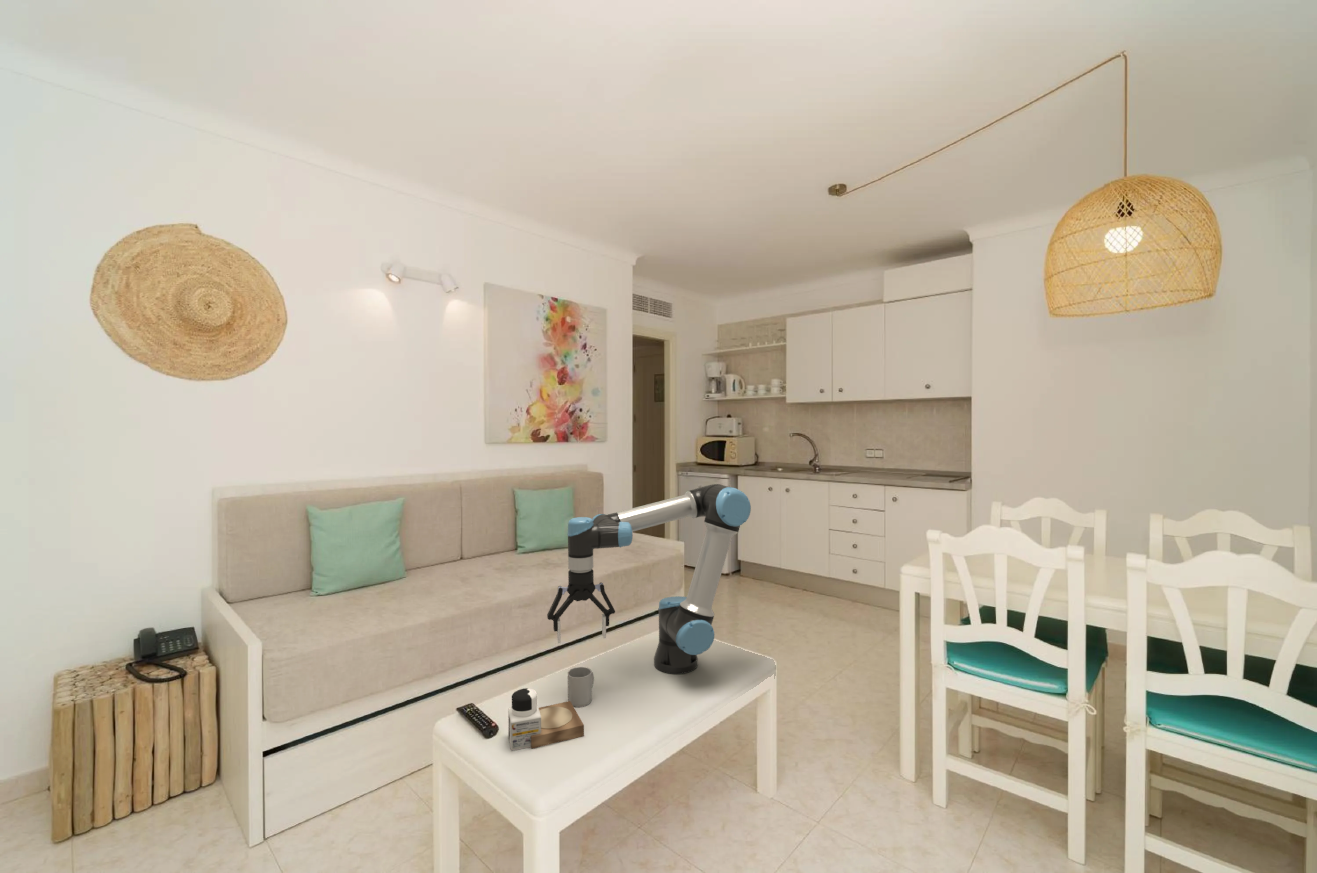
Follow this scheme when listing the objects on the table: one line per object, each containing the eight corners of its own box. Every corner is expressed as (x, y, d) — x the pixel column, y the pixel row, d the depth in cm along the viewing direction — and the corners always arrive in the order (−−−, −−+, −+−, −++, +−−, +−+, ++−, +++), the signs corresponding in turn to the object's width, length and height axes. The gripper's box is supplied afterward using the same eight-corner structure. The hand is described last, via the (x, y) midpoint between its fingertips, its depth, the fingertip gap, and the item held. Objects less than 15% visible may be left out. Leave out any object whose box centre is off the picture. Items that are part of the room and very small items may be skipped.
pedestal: (570, 711, 162) (570, 699, 162) (584, 735, 149) (583, 723, 149) (521, 722, 156) (521, 710, 156) (531, 748, 143) (531, 736, 143)
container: (511, 751, 142) (510, 701, 142) (508, 735, 150) (508, 687, 150) (541, 745, 145) (541, 696, 145) (537, 730, 152) (537, 683, 152)
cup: (562, 703, 166) (562, 674, 166) (583, 689, 175) (583, 661, 175) (581, 710, 163) (581, 680, 162) (602, 695, 171) (601, 666, 171)
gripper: (619, 563, 174) (620, 630, 175) (538, 569, 168) (539, 638, 169) (623, 569, 167) (624, 639, 168) (539, 576, 161) (540, 648, 161)
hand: (581, 639), depth 168 cm, fingers open, 13 cm apart
